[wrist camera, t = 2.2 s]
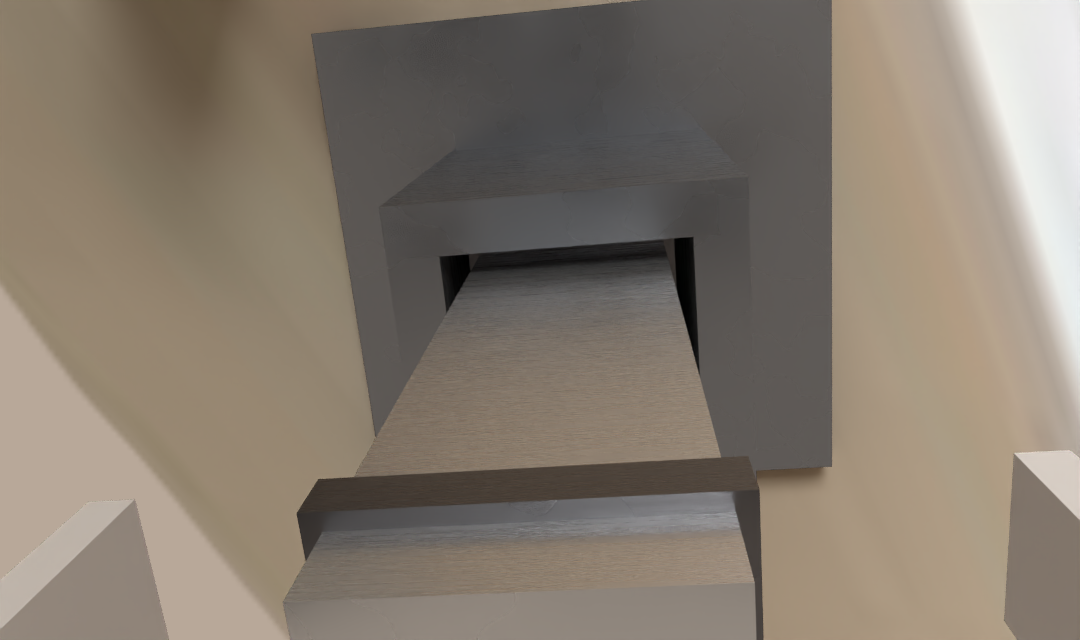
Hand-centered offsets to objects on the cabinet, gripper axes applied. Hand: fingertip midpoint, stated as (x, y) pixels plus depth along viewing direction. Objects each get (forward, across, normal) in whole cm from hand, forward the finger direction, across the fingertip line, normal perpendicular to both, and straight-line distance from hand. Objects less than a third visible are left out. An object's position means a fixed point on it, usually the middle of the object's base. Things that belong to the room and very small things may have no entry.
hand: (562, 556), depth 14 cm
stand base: (+19, 0, 0) cm, 19 cm away
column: (+17, 0, 0) cm, 17 cm away
